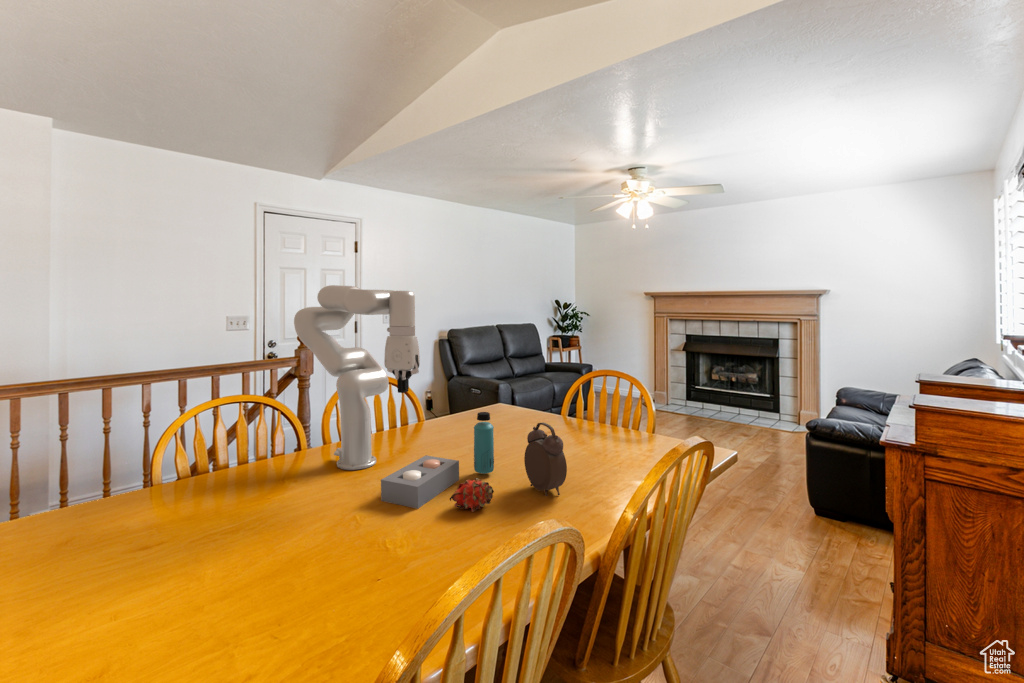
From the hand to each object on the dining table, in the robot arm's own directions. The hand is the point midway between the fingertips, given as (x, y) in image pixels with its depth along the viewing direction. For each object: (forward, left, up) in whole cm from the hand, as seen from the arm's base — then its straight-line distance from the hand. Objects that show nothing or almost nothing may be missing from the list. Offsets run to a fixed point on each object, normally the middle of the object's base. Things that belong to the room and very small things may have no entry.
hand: (403, 391), depth 143 cm
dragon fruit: (+29, -10, -27) cm, 41 cm away
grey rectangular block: (+10, -5, -27) cm, 29 cm away
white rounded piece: (+10, -10, -25) cm, 28 cm away
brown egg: (+10, 0, -25) cm, 26 cm away
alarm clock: (+43, +9, -27) cm, 52 cm away
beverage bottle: (+21, +13, -27) cm, 37 cm away
